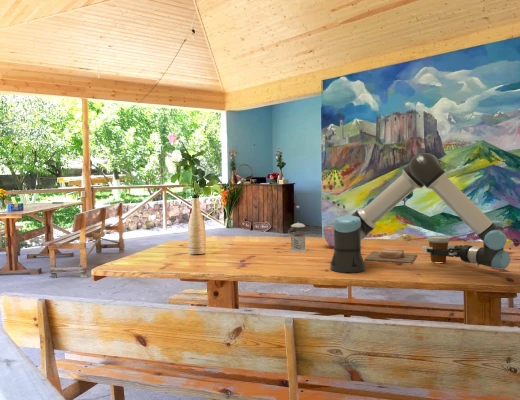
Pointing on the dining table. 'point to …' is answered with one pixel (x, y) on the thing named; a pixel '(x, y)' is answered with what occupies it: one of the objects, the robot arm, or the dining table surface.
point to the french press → (297, 238)
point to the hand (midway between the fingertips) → (433, 247)
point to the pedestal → (391, 256)
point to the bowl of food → (329, 234)
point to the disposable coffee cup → (438, 246)
